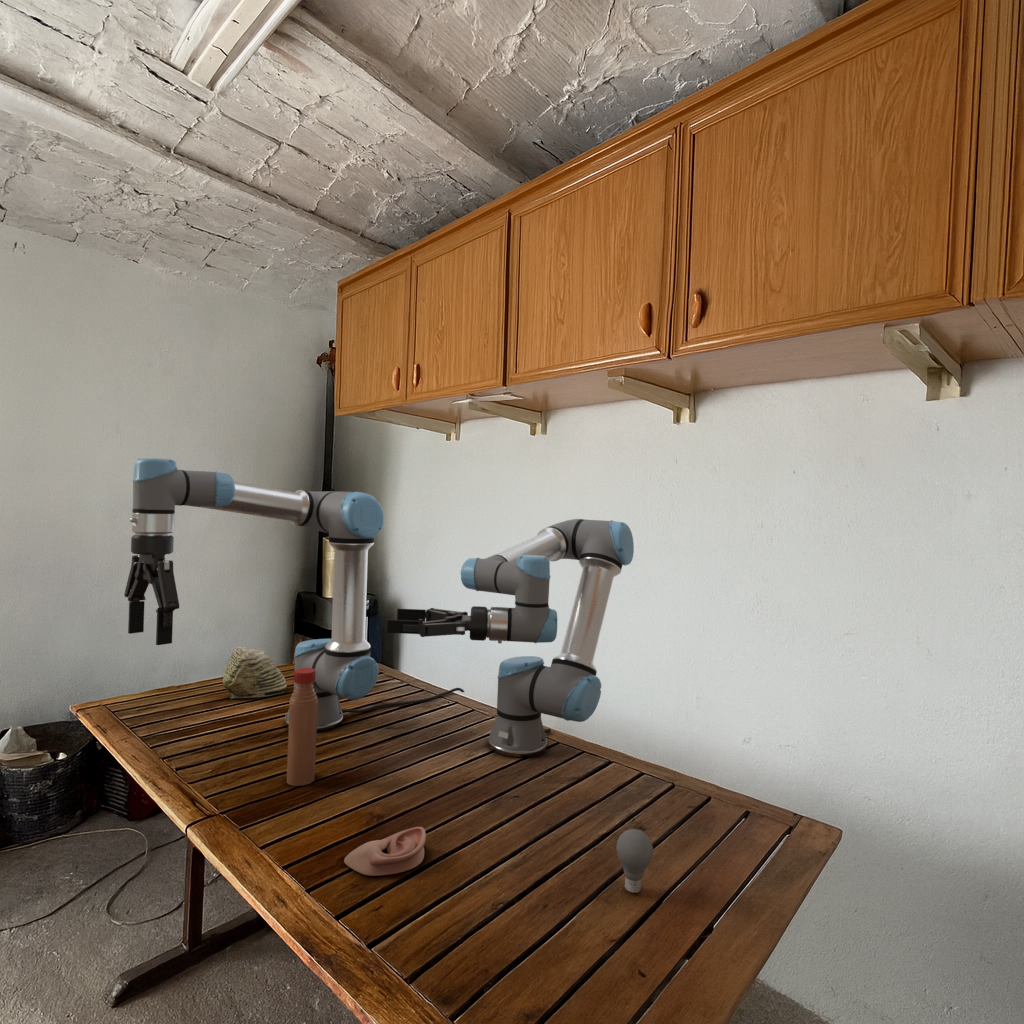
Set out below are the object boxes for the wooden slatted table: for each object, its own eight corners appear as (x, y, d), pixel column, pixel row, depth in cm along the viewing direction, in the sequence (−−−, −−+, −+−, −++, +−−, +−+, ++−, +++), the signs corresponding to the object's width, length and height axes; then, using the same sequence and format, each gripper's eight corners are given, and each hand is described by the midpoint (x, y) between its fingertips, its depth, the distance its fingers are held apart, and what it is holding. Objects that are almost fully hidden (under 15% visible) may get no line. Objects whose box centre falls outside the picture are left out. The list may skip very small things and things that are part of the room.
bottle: (281, 779, 141) (285, 671, 141) (306, 771, 145) (310, 667, 145) (294, 788, 137) (298, 677, 136) (319, 780, 141) (323, 673, 141)
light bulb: (610, 879, 108) (613, 822, 108) (644, 879, 109) (647, 822, 109) (619, 902, 102) (622, 840, 102) (655, 901, 103) (658, 840, 103)
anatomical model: (336, 847, 108) (365, 815, 119) (335, 870, 108) (364, 836, 119) (410, 859, 105) (432, 825, 116) (409, 883, 105) (431, 846, 116)
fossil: (218, 695, 195) (220, 647, 195) (278, 685, 208) (279, 640, 207) (228, 703, 189) (230, 653, 188) (289, 692, 201) (290, 645, 201)
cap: (289, 680, 141) (290, 669, 141) (309, 677, 144) (309, 666, 144) (299, 685, 138) (299, 674, 137) (319, 681, 141) (319, 671, 141)
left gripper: (108, 530, 134) (105, 630, 134) (159, 539, 118) (156, 652, 118) (147, 530, 139) (143, 626, 140) (200, 538, 124) (196, 646, 124)
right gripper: (486, 653, 129) (382, 650, 129) (487, 629, 154) (400, 625, 154) (488, 617, 129) (383, 613, 129) (488, 598, 154) (401, 594, 154)
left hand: (149, 638), depth 129 cm, fingers open, 13 cm apart
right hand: (392, 620), depth 141 cm, fingers open, 13 cm apart
